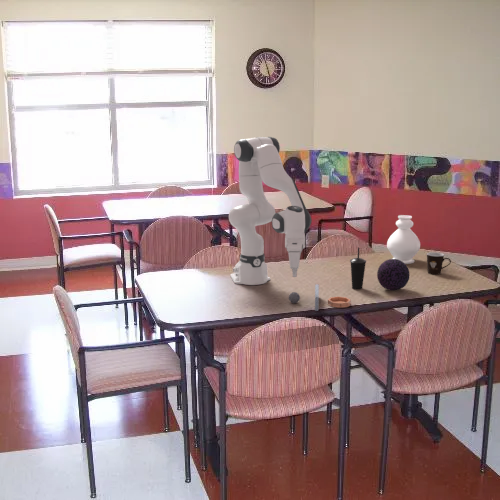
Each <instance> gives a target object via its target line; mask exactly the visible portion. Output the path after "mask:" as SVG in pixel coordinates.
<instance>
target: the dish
mask: <svg viewBox="0 0 500 500" xmlns="http://www.w3.org/2000/svg"><path fill="white" fill-rule="evenodd" d="M351 303H352V300H351V299H350V298H348V297H345V296H338V295H337V296H332V297H329V298H328V299H327V305H328V306H330V307H332V308H338V309H339V308H341V309H342V308H349V307H350V306H351Z"/></svg>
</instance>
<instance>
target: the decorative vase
mask: <svg viewBox="0 0 500 500" xmlns="http://www.w3.org/2000/svg"><path fill="white" fill-rule="evenodd" d="M397 218H398V220H396V221H395V225H396V227H397V229H396V230H395V231H394V232H392V233H391V235H390V236H389V238H388V239H387V242H386V247H387V249H388V251H389V253H390V254H391V256H392V258H391V259H398V260H400V261H402V262H403V263H405V264H406V265H409V264H414V263H415V259H413V258H414V257H415V256H416V255H417V253H418V252H419V251H420V248H421V242H420V241H421V240H420V238H418V236H417V234H416V233H415V232H413V230H412V229H411V228H413V226H414V222H413V221H412V218H413V216H412V215H408V214H407V215H406V214H405V215H404V214H399V215H398V216H397Z"/></svg>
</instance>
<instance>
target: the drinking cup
mask: <svg viewBox="0 0 500 500" xmlns="http://www.w3.org/2000/svg"><path fill="white" fill-rule="evenodd" d="M349 262H350V272H351V273H350V274H351V288H352V289H353V290H357V291H358V290H362V289H363V286H364V285H363V284H364V277H365V271H366V263H367V260H366V259H364V258H361V257H360V247H357V257H354V258H352V259H350V260H349Z"/></svg>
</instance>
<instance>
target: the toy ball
mask: <svg viewBox="0 0 500 500" xmlns="http://www.w3.org/2000/svg"><path fill="white" fill-rule="evenodd" d="M410 275H411V274H410V270H409V267H408V266H407V264H405V263H403V262H402V261H400V260H398V259H392V258H389V259H386V260H384V261H383V262H382V263H381V264H380V265H379V267H378V268H377V272H376V276H377V277H376V278H377V281H378V283H379V284H380V286H382V287H383V288H384V289H385V290H387V291H393V292H395V291H399V290H401V289H403V288H405V287H406V285H407V284H408V282H409V280H410Z"/></svg>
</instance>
